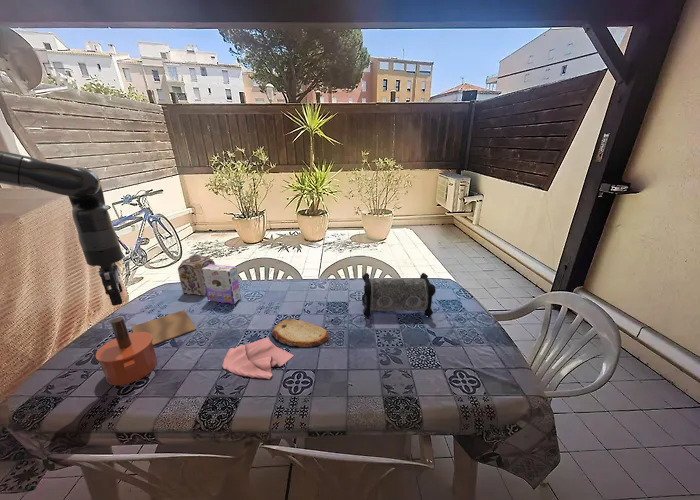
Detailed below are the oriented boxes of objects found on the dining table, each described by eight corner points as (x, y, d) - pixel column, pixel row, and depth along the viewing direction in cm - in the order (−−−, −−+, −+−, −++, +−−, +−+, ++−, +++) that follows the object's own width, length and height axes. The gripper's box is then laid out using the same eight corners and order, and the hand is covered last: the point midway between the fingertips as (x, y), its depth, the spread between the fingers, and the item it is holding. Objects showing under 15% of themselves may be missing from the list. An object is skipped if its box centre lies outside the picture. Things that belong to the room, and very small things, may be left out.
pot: (108, 398, 74) (99, 374, 71) (106, 363, 87) (97, 341, 84) (162, 375, 82) (155, 352, 79) (152, 346, 94) (146, 325, 92)
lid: (97, 372, 73) (85, 341, 69) (96, 347, 82) (85, 318, 79) (156, 349, 81) (148, 320, 78) (149, 329, 91) (142, 302, 87)
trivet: (137, 351, 92) (137, 350, 92) (131, 327, 104) (131, 326, 104) (196, 330, 103) (195, 328, 103) (184, 310, 116) (184, 309, 116)
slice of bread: (332, 340, 98) (332, 331, 97) (283, 358, 89) (282, 348, 88) (312, 316, 112) (312, 308, 111) (269, 329, 104) (268, 321, 103)
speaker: (361, 301, 124) (362, 271, 119) (423, 301, 124) (426, 271, 119) (363, 320, 110) (364, 286, 105) (433, 319, 110) (437, 286, 105)
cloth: (222, 349, 93) (221, 343, 92) (285, 333, 102) (285, 327, 101) (222, 394, 76) (221, 387, 75) (299, 370, 84) (299, 364, 83)
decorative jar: (204, 296, 128) (197, 261, 122) (182, 294, 129) (174, 259, 123) (219, 285, 139) (214, 252, 133) (199, 283, 140) (192, 250, 134)
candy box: (241, 298, 126) (237, 266, 120) (233, 305, 120) (228, 271, 115) (216, 295, 129) (210, 263, 123) (207, 301, 123) (200, 268, 118)
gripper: (84, 241, 76) (102, 292, 81) (78, 255, 65) (99, 313, 71) (119, 236, 80) (133, 285, 85) (118, 249, 70) (135, 304, 75)
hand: (117, 298), depth 78 cm, fingers open, 8 cm apart
